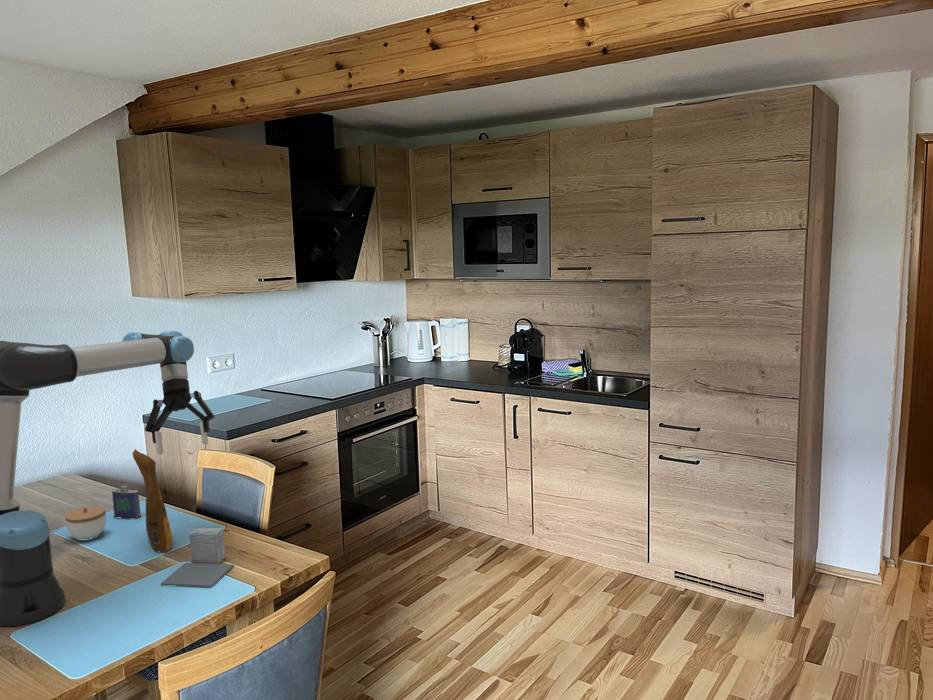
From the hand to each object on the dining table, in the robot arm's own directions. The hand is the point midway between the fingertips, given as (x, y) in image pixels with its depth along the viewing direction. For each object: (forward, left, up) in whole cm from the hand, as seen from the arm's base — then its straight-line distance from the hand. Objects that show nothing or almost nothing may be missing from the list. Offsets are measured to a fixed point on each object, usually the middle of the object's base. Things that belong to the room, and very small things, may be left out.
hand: (182, 448), depth 208 cm
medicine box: (-17, -15, -27) cm, 36 cm away
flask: (+11, +29, -27) cm, 41 cm away
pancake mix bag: (-8, +6, -27) cm, 29 cm away
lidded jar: (-5, +31, -27) cm, 41 cm away
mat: (-26, -17, -27) cm, 41 cm away
